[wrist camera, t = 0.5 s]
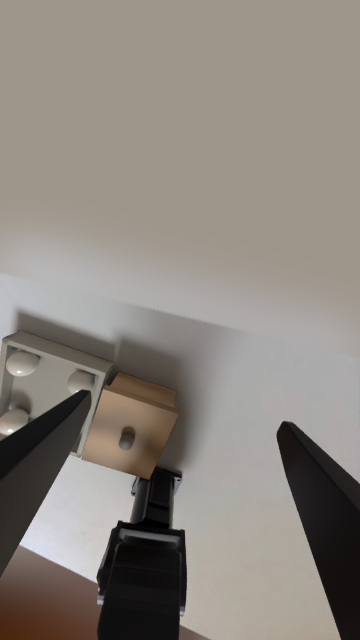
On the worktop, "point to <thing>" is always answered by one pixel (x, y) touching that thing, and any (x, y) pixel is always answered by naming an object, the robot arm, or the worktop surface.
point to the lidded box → (131, 425)
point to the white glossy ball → (22, 363)
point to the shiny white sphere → (80, 381)
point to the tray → (49, 379)
